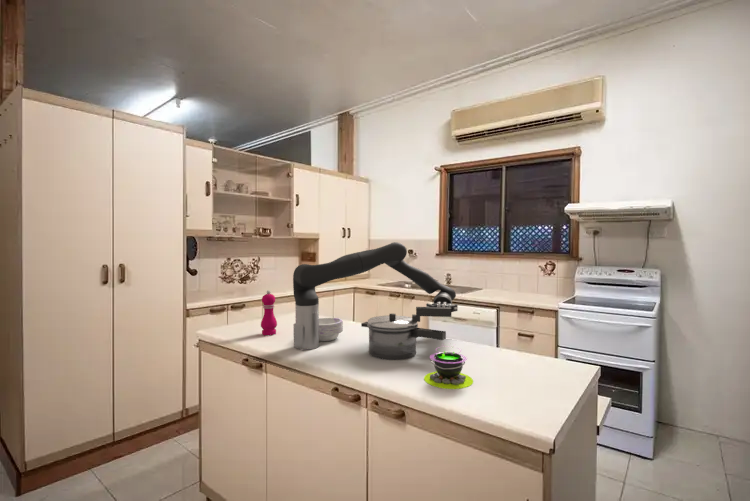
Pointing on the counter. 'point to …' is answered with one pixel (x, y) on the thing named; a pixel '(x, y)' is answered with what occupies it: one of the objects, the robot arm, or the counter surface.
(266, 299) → the pepper mill
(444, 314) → the lid
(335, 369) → the counter surface
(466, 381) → the toy cauldron
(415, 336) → the cooker pot
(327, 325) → the paper bowls
